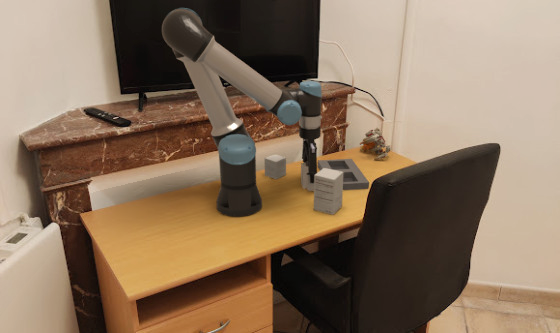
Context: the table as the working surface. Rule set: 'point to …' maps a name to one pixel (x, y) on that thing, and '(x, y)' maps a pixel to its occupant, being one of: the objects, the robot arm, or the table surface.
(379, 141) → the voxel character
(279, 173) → the product box
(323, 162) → the dark grey compartment tray
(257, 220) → the table surface
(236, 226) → the table surface
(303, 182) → the plug
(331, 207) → the supplement box
